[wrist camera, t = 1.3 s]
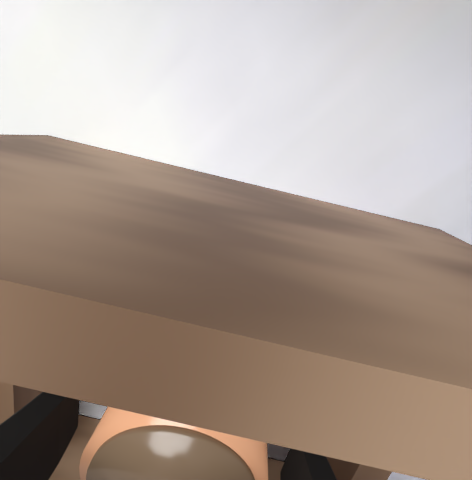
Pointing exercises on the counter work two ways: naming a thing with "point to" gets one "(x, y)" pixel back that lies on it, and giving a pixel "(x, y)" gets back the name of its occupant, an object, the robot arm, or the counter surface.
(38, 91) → the counter surface
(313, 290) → the potting tray
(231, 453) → the peach orange cylinder
